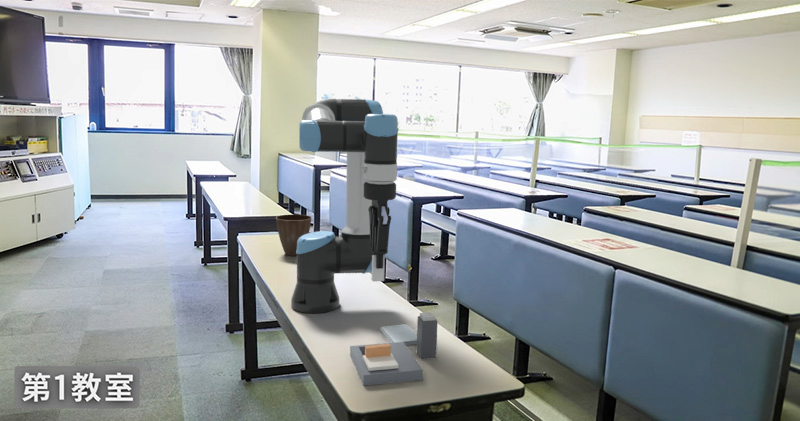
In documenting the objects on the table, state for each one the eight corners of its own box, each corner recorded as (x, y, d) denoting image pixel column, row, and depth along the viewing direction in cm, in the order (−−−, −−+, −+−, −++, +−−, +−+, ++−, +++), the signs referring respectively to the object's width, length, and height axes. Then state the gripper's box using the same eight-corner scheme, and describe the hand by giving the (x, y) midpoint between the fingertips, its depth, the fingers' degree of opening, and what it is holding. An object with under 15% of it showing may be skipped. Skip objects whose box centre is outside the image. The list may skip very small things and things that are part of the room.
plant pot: (272, 251, 255) (272, 215, 252) (306, 248, 261) (305, 213, 259) (280, 259, 242) (280, 221, 239) (315, 256, 248) (315, 219, 245)
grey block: (416, 353, 152) (417, 312, 150) (431, 351, 153) (432, 311, 151) (420, 359, 148) (422, 317, 146) (436, 358, 149) (437, 316, 147)
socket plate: (350, 355, 149) (350, 346, 149) (403, 350, 153) (403, 341, 152) (363, 385, 133) (363, 375, 133) (422, 379, 137) (422, 369, 136)
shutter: (362, 358, 141) (363, 345, 140) (391, 356, 143) (391, 343, 142) (368, 370, 134) (369, 357, 134) (398, 368, 136) (398, 355, 135)
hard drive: (423, 339, 158) (407, 323, 170) (394, 342, 155) (380, 326, 167) (423, 345, 158) (407, 329, 170) (394, 348, 156) (380, 331, 167)
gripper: (358, 178, 140) (357, 273, 145) (369, 185, 128) (368, 289, 132) (389, 178, 142) (386, 272, 146) (403, 185, 130) (400, 287, 134)
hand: (377, 280), depth 139 cm, fingers closed
